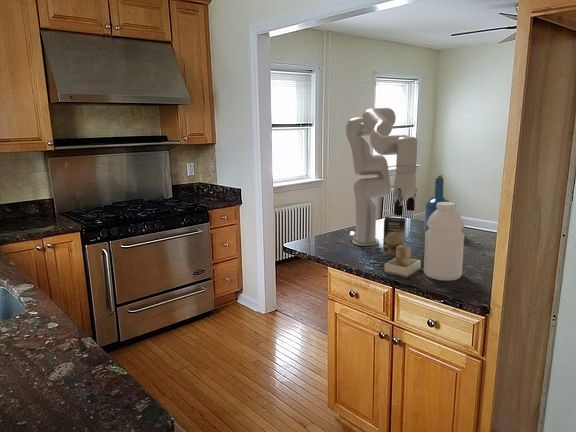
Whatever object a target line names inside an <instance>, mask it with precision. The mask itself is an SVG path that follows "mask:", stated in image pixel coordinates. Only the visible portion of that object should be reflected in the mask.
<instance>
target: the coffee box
mask: <svg viewBox="0 0 576 432" xmlns="http://www.w3.org/2000/svg"><path fill="white" fill-rule="evenodd" d="M406 221H407V219H406V217H397V216H396V217H394V216H393V217H392V216H385V217H384V219H383V243H382V245H383V247H382V248H383V249H382V255H383V256H394V257H396V247H397V246H399V245H404V246H406V244H405V242H406V241H405V240H406V225H407V224H406Z"/></svg>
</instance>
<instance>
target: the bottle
mask: <svg viewBox="0 0 576 432" xmlns="http://www.w3.org/2000/svg"><path fill="white" fill-rule="evenodd" d="M456 207H457V206H456V203H454V202H450V201H449V202H439V203H437V205H436V208H438V209H437V210H436V211H434V212H433V213H432V214H431V216H430V217H429V219H428V221H427V223H426V224H427V226H428V227H429V229H428V230H427V231H426V232H425V231H424V258H423V259H424V260H423V261H424V262H423V263H424V264H423V273H424V275H425V276H427V277H428V278H430V279H434V280H438V281H446V282H447V281H457V280H458V279H460V278H461V277H462V275H463V262H464V246H465V237H466V236H465V234H464V232H462V230H463V228H464V227H465V224H464V221H463V219H462V217H461V215H460V214H459V213H458V211H457V210H456Z"/></svg>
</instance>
